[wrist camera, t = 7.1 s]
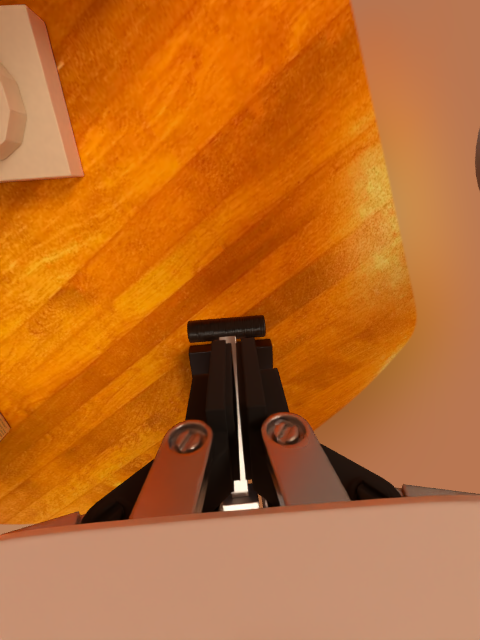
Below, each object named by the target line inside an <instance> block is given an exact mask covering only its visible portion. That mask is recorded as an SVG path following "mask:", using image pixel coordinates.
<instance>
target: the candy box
mask: <svg viewBox="0 0 480 640" xmlns="http://www.w3.org/2000/svg"><path fill="white" fill-rule="evenodd" d="M10 429H11V428H10V427H9V425H8V423H7V422H6V420H5V419H4V417H3V416H2V414H1V413H0V441H1V440H2V439H3V438H4V436H5V435H6V434H7V433H8V432H9V430H10Z"/></svg>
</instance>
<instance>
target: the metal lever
mask: <svg viewBox="0 0 480 640" xmlns="http://www.w3.org/2000/svg"><path fill="white" fill-rule="evenodd" d="M187 332H188V339H189V342H190V343H194V342H206V341H216V340H226V343H231V345H232V355H233V366H234V376H235V387H236V398H237V415H238V438H239V460H240V480H238V481H234V492H232V493H231V494H230V495H229V496H228V497H227V498H226V499H225V500H224V501H223V511H232V510H244V509H256V508H259V500H258V493H257V492H255V491H254V490H253V483H251V484H248V480H246V479H245V468H244V457H243V447H242V436H241V425H240V414H239V399H238V380H237V361H236V339H241V338H253V337H264V336H265V335H266V327H265V319H264V316H263V315H256V316H244V317H232V318H220V319H208V320H196V321H188V324H187Z"/></svg>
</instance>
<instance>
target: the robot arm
mask: <svg viewBox="0 0 480 640" xmlns="http://www.w3.org/2000/svg"><path fill="white" fill-rule="evenodd" d="M236 361H237V380H238V399H239V414H240V425H241V436H242V447H243V457H244V468H245V479H246V480H250V479H252V483H253V490H254V491H255V492H257V493H258V494H259V495H261V496H262V497H263V498H264V499H265V505H266V508H256V509H244V510H232V511H223V501H224V500H225V499H226V498H227V497H228V496H229V495H230V494H231V493H232V492H234V481H238V480H240V460H239V438H238V415H237V398H236V387H235V376H234V366H233V355H232V345H231V343H226V340H216V341H212V344H211V354H210V365H209V374H198V375H193V379H192V385H191V390H190V396H189V402H188V408H187V413H186V419H185V421H183V422H180V423H178V424H176V425H174V426H173V427H172V428H171V429H169V430H168V432H167V433H166V435H165V436H164V438H163V441H162V443H161V445H160V448H159V450H158V452H157V455H156V457H155V459H154V460H152V461H151V462H150V463H148V464H147V465H146V466H144V467H143V468H142V469H140V470H139V471H138V472H136V473H135V474H134V475H132V476H131V477H130V478H128V479H127V480H126V481H124V482H123V483H122V484H121V485H119V486H118V487H117V488H115V489H114V490H113V491H111V492H110V493H109V494H107V495H106V496H105V497H103V498H102V499H101V500H99V501H98V502H97V503H96V504H95V505H94V506H92V507H91V508H90V509H89V510H88V512H87V513H86V514H84V515H80V514H79V511H78V512H75V513H72V514H68V515H65V516H61V517H58V518H55V519H51V520H48V521H45V522H41V523H38V524H35V525H31V526H28V527H25V528H22V529H18V530H15V531H11V532H8V533H5V534H2V535H0V640H480V494H475V493H466V492H459V491H451V490H443V489H436V488H427V487H420V486H412V485H405V484H403V486H402V488H394V486H393V485H392V484H390V483H389V482H388V481H386V480H385V479H383V478H381V477H380V476H378V475H376V474H374V473H372V472H371V471H369V470H367V469H365V468H364V467H362V466H360V465H358V464H356V463H355V462H353V461H351V460H349V459H347V458H346V457H344V456H342V455H340V454H338V453H337V452H335V451H333V450H331V449H329V448H327V447H326V446H324V445H322V444H320V443H319V441H318V439H317V438H316V436H315V434H314V432H313V430H312V428H311V427H310V425H309V423H308V422H307V421H306V420H305V419H304V418H302V417H301V416H299V415H297V414H294V413H289V410H288V406H287V402H286V398H285V395H284V391H283V387H282V383H281V380H280V376H279V372H278V369H277V368H272V369H260V368H259V362H258V356H257V350H256V345H255V339H254V337H253V338H241V342H236Z"/></svg>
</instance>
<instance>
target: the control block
mask: <svg viewBox="0 0 480 640" xmlns="http://www.w3.org/2000/svg"><path fill="white" fill-rule="evenodd" d="M72 177H84V174H83V170H82V166H81V162H80V158H79V154H78V150H77V147H76V143H75V139H74V135H73V131H72V127H71V123H70V119H69V115H68V111H67V107H66V103H65V100H64V96H63V92H62V88H61V84H60V80H59V76H58V72H57V68H56V64H55V60H54V57H53V53H52V49H51V45H50V41H49V37H48V33H47V29H46V25H45V22H44V21H43V20H41V19H40V18H39V17H38V16H37V15H36V14H35V13H34V12H33V11H32V10H30V9H29V8H28V7H27V6H26V5H6V6H0V183H2V182H16V181H30V180H44V179H58V178H72Z"/></svg>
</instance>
